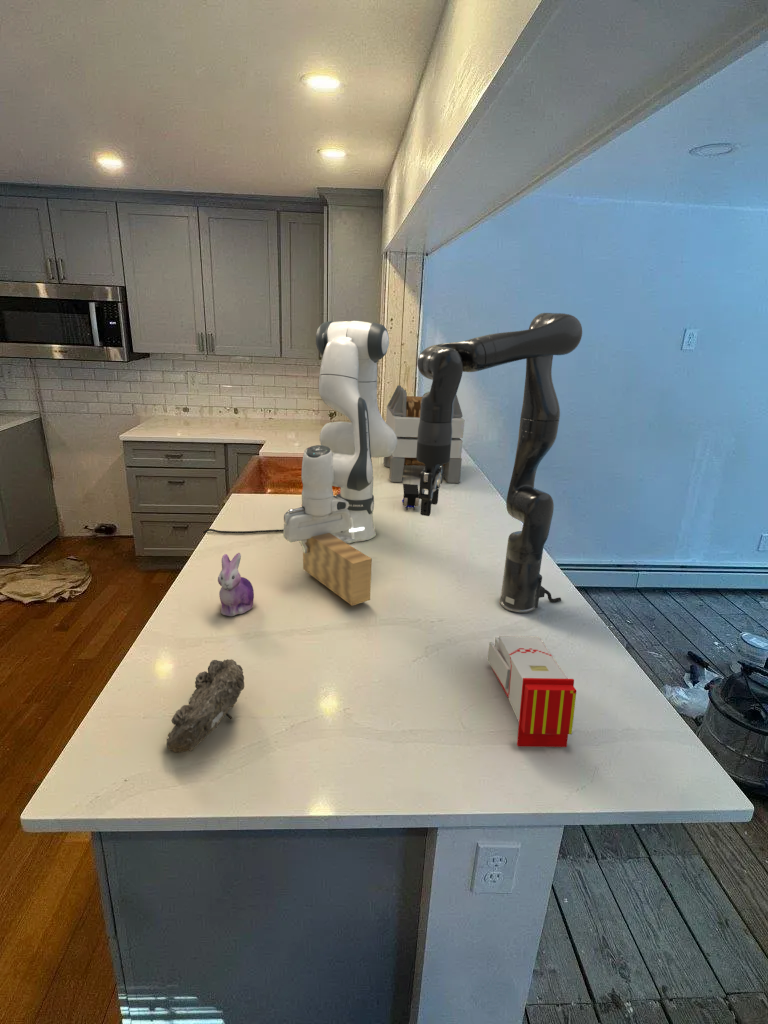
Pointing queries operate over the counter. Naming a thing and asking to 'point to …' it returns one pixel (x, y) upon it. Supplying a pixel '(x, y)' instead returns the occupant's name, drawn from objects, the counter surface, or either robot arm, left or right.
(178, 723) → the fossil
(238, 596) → the figurine
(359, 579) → the box
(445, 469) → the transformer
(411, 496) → the figurine character
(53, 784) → the counter surface
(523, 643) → the toy
